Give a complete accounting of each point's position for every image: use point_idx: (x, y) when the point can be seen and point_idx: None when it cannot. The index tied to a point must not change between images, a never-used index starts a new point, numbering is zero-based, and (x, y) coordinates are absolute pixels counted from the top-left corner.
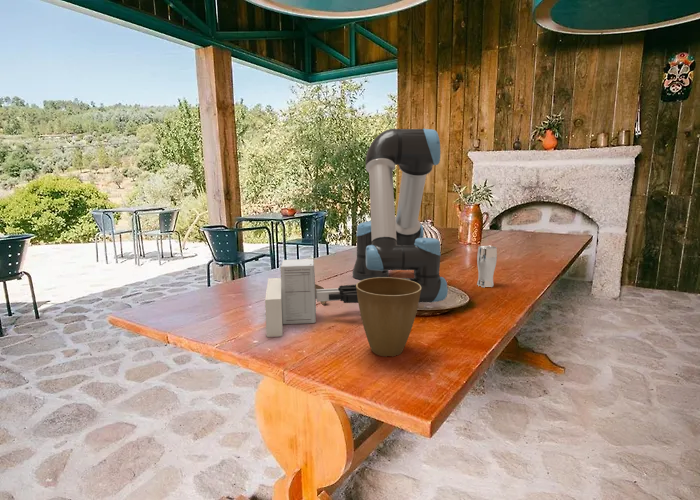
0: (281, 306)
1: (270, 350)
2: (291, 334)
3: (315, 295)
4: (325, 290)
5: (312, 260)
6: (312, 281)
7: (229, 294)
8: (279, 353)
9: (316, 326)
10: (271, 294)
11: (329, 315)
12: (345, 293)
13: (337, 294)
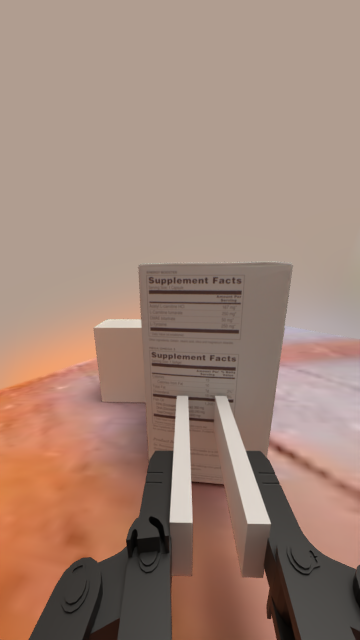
0: (111, 348)
1: (54, 389)
2: (100, 415)
3: (203, 411)
4: (222, 432)
5: (248, 262)
6: (142, 332)
7: (322, 348)
8: (28, 398)
9: (119, 479)
10: (137, 322)
11: (237, 568)
12: (78, 589)
13: (153, 510)
